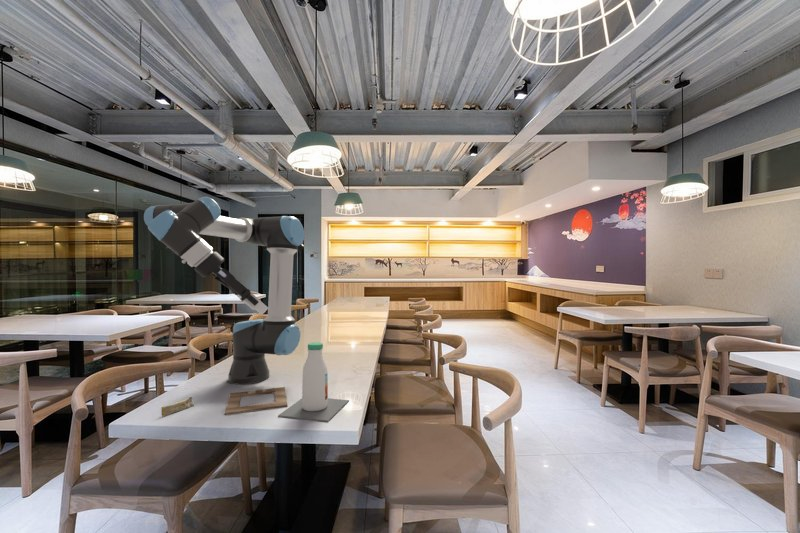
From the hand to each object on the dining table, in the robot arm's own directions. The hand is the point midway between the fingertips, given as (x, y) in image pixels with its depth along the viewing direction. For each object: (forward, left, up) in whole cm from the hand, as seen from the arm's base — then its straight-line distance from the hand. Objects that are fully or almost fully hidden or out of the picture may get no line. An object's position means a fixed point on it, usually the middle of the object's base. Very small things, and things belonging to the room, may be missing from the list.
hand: (260, 309), depth 107 cm
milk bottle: (-7, +14, -31) cm, 35 cm away
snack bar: (+4, -27, -32) cm, 42 cm away
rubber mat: (-7, +14, -32) cm, 35 cm away
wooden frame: (-9, -8, -32) cm, 34 cm away
